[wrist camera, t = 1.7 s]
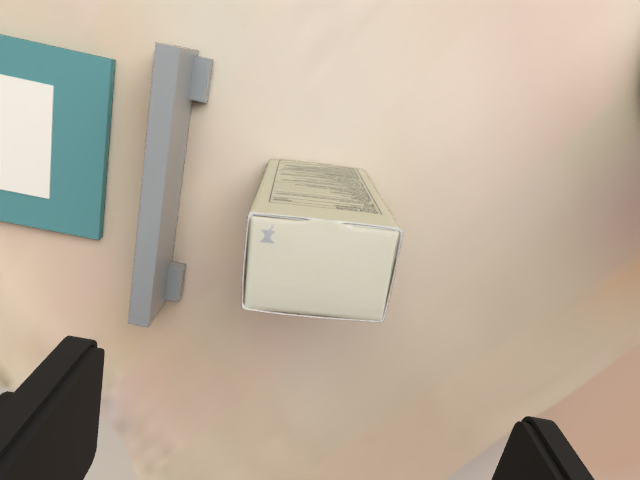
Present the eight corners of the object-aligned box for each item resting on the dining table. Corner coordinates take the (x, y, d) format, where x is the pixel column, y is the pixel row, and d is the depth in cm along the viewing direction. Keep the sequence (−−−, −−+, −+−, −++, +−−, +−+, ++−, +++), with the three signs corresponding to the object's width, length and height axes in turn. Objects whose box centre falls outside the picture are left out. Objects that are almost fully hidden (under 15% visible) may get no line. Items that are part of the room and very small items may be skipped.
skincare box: (262, 223, 32) (230, 311, 20) (268, 156, 30) (238, 209, 19) (361, 235, 32) (386, 328, 20) (372, 169, 30) (405, 229, 19)
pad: (115, 59, 28) (110, 59, 28) (102, 236, 32) (97, 240, 31) (-83, 16, 27) (-93, 14, 27) (-74, 202, 31) (-83, 205, 30)
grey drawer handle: (214, 54, 28) (197, 51, 24) (180, 300, 33) (163, 330, 30) (161, 42, 28) (137, 38, 24) (136, 292, 33) (112, 320, 29)
